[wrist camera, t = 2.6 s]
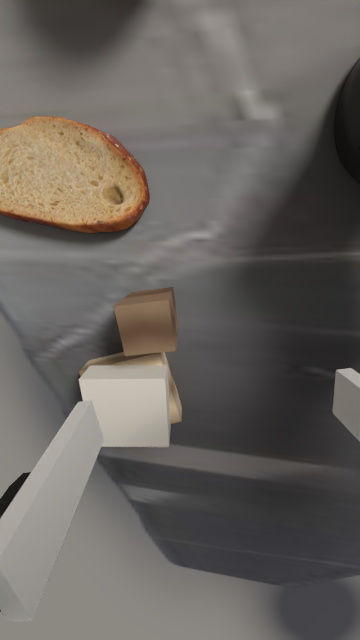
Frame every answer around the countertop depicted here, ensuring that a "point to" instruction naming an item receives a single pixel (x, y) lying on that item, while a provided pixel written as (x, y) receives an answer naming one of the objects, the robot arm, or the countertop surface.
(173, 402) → the tower base
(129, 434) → the tower top
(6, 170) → the slice of bread
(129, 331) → the walnut block
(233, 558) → the countertop surface
